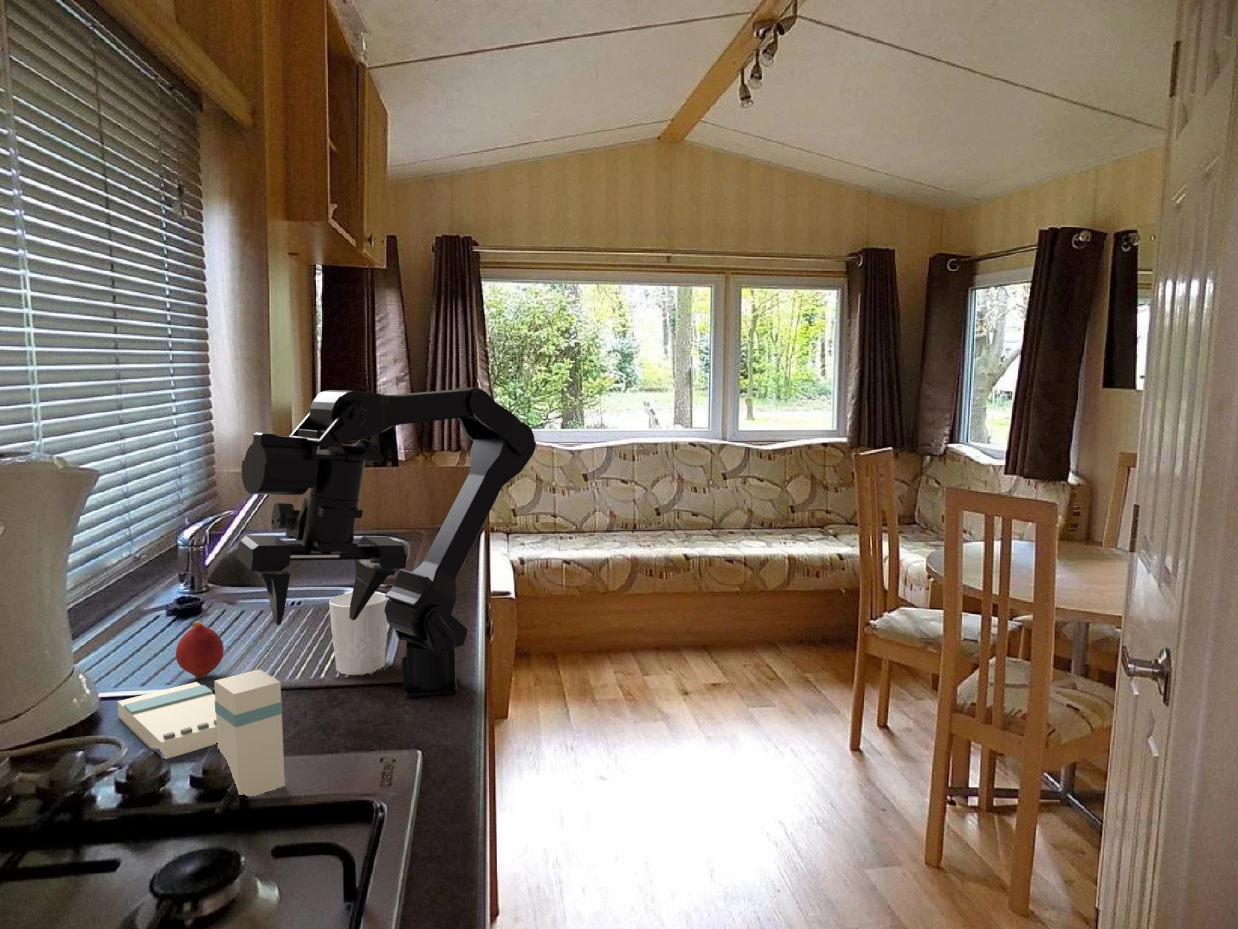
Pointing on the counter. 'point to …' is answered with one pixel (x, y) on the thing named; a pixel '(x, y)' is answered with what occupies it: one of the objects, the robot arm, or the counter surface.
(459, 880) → the counter surface
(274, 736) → the cream box
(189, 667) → the onion
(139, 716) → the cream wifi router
